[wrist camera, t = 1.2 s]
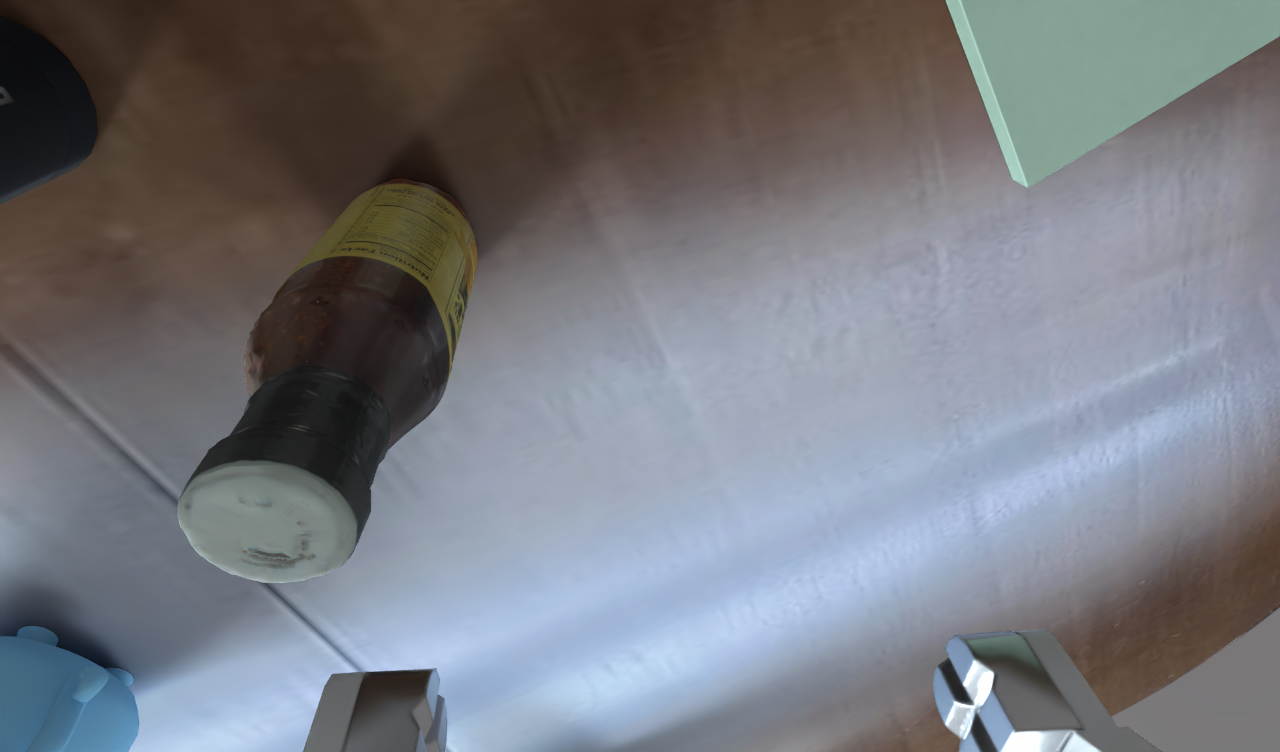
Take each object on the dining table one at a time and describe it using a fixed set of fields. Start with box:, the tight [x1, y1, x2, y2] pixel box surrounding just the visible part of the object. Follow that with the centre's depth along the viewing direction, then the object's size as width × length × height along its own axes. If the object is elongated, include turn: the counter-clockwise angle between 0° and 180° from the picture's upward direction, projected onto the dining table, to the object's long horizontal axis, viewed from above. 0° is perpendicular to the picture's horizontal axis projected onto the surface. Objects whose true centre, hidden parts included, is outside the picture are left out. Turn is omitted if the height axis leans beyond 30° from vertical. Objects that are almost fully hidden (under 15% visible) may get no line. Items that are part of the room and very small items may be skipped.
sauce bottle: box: [177, 179, 477, 583], centre depth 25 cm, size 6×6×20 cm
